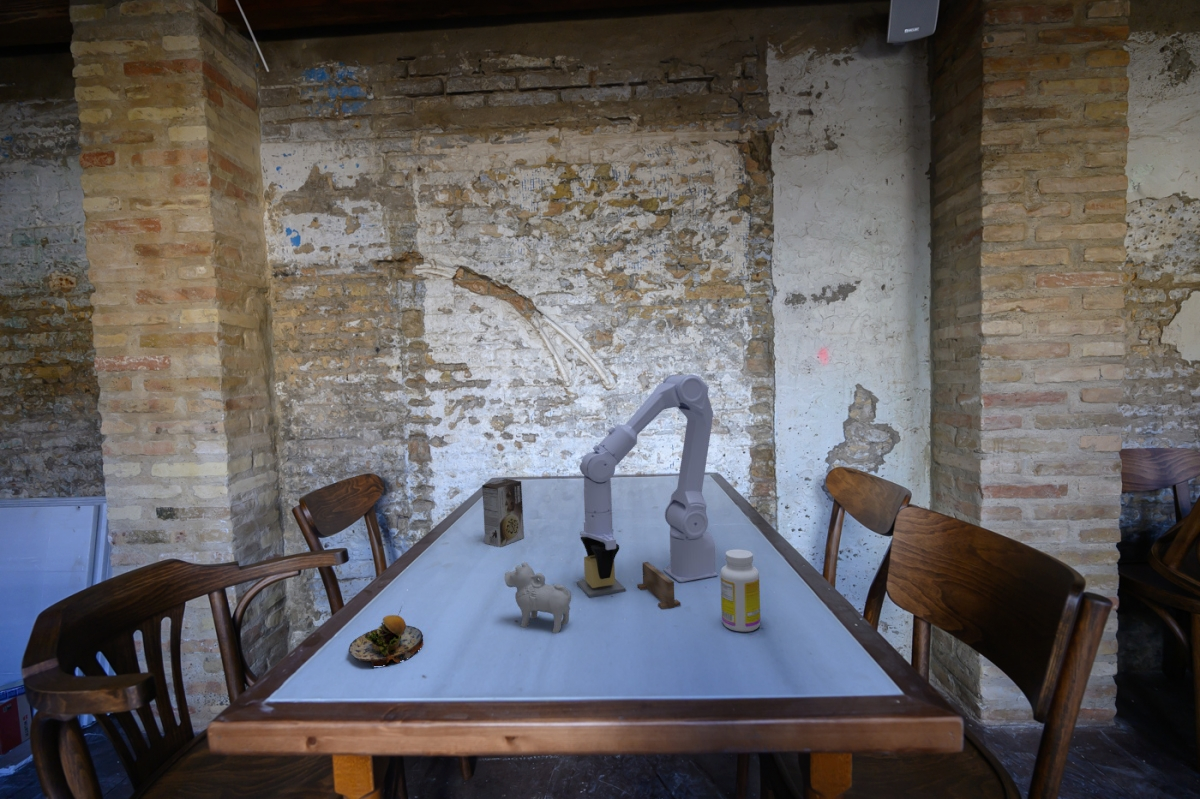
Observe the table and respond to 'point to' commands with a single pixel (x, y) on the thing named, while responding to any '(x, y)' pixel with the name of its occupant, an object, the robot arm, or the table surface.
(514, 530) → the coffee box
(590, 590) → the coaster
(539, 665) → the table surface
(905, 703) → the table surface
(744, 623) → the supplement bottle
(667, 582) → the wooden board
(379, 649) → the burger
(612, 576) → the cube
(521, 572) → the dog figurine
